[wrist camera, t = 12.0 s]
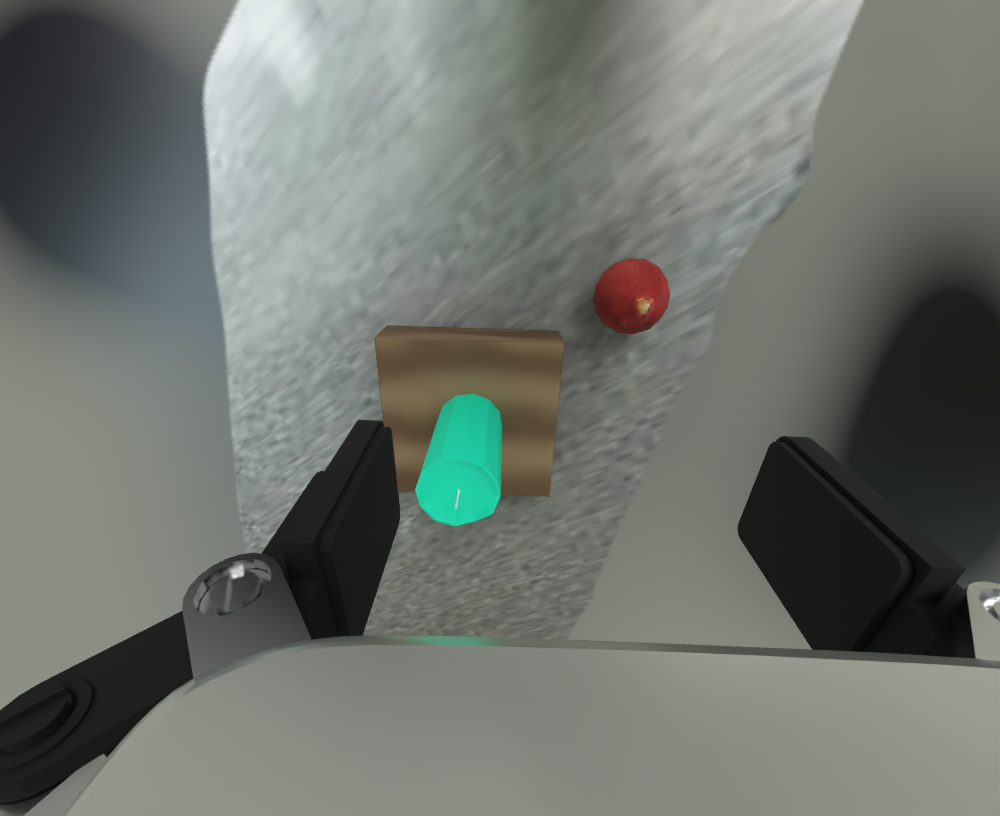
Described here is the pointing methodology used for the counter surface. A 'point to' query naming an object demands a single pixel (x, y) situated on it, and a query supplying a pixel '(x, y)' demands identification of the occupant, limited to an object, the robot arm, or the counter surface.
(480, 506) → the candle
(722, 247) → the counter surface
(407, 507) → the counter surface
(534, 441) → the walnut base
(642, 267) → the onion
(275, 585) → the robot arm
